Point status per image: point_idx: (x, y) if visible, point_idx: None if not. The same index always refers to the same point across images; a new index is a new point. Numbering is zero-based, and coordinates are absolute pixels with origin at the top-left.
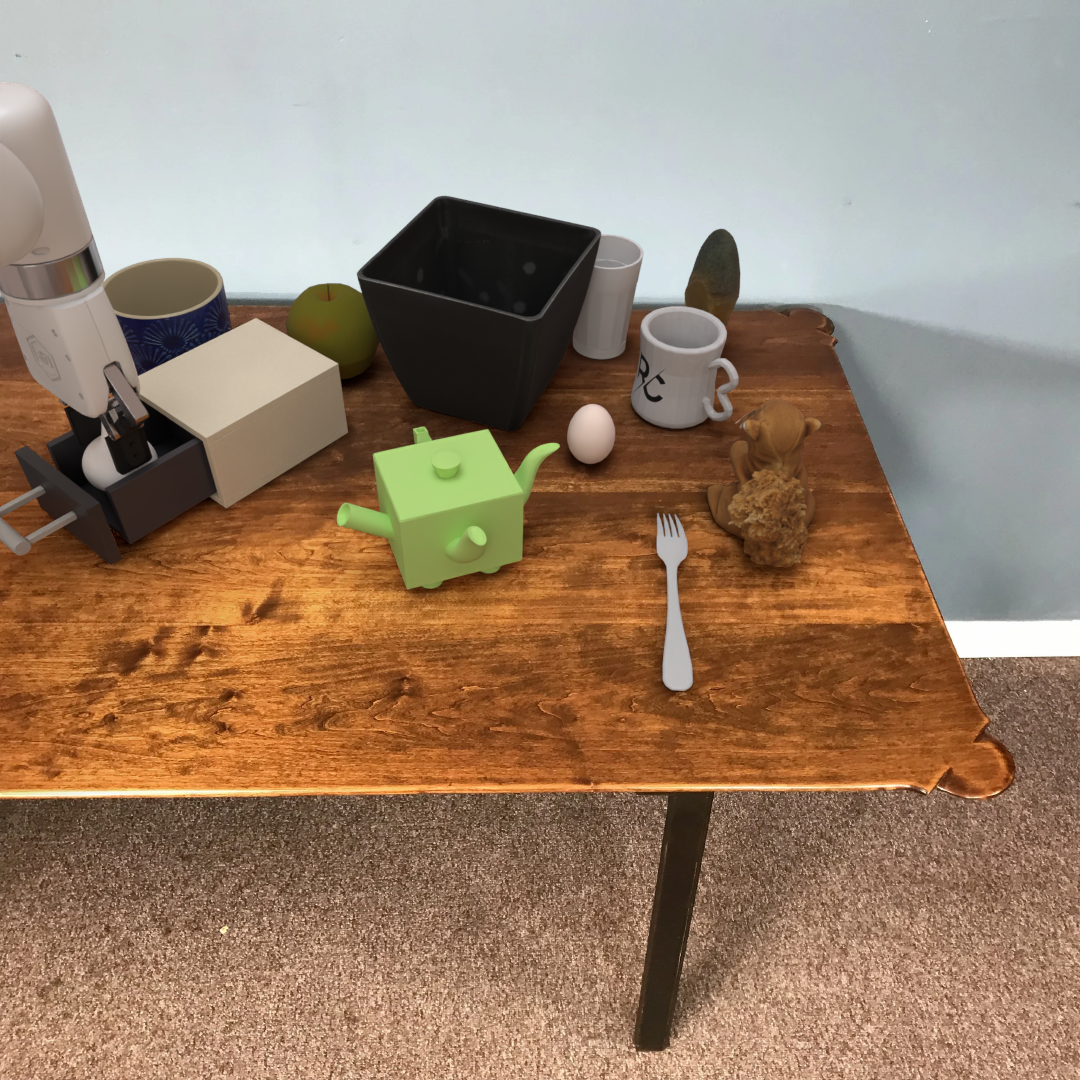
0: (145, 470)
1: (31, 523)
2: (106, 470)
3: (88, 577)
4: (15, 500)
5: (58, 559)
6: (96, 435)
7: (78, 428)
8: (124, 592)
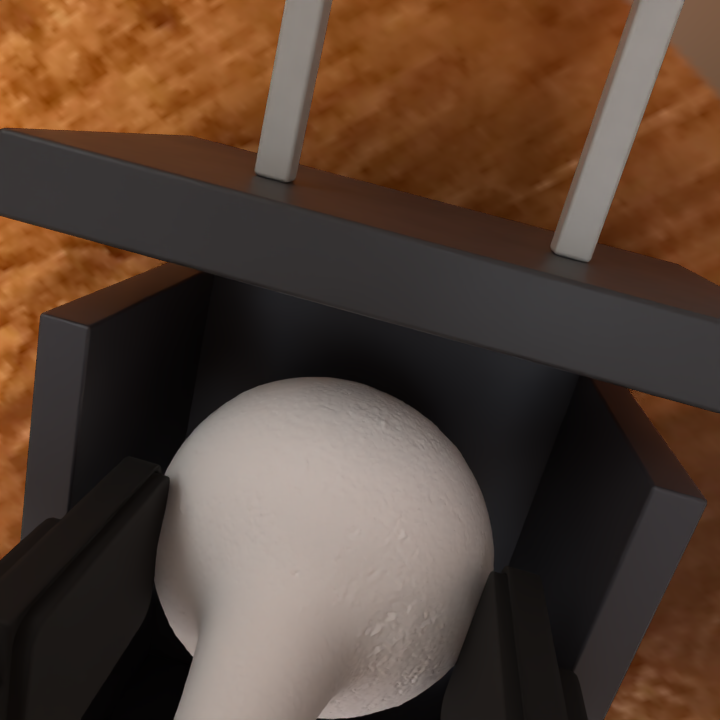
0: (32, 521)
1: (685, 200)
2: (226, 454)
3: (267, 73)
4: (629, 97)
5: (437, 93)
6: (467, 650)
7: (495, 659)
8: (104, 78)
